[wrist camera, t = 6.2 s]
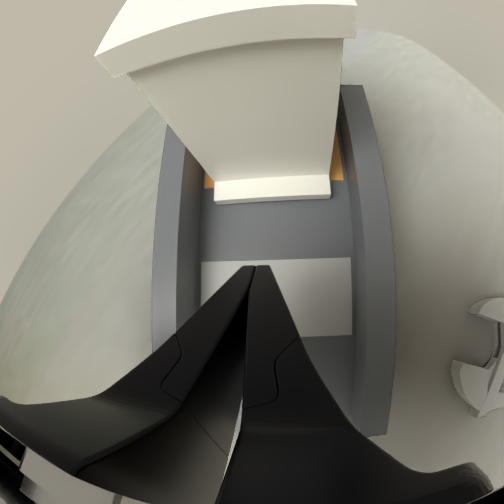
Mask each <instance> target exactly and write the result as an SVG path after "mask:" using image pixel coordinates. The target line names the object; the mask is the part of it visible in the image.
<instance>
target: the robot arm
mask: <svg viewBox="0 0 504 504" xmlns="http://www.w3.org/2000/svg"><path fill="white" fill-rule="evenodd" d="M242 397H243V398H242ZM241 401H242V417H241V425H240V431H239V435H238V438H237V441H236V444H235V447H234V450H233V453H232V456H231V459H230V462H229V465H228V467H227V470H226V473H225V476H224V472H225V468H226V464H227V460H228V456H229V452H230V448H231V444H232V439H233V435H234V431H235V427H236V423H237V418H238V414H239V410H240V406H241ZM0 426H1V427H3V428H4V429H5V430H6V431H7V432H6V431H5V430H3V429H2V428H1V427H0V504H504V486H503V487H501V488H499V489H497V490H495V491H493V492H492V490H493V486H492V484H491V481H490V480H489V478H488V477H487V476H486V475H485V474H484V473H483V471H482V470H480V469H479V468H478V467H477V466H476V465H475V464H474V463H471V462H470V463H465V464H461V465H458V466H455V467H451V468H448V469H445V470H442V471H438V472H433V473H422V472H417V471H414V470H411V469H409V468H407V467H406V466H404V465H403V464H401V463H400V462H399V461H397V460H396V459H394V458H393V457H392V456H390V455H389V454H388V453H386V452H385V451H384V450H382V449H381V448H380V447H379V446H377V445H376V444H375V443H373V442H372V441H371V440H369V439H368V438H367V437H366V436H364V435H363V434H362V433H361V432H359V431H358V430H357V429H356V428H355V427H354V426H353V424H352V423H351V422H350V421H349V419H348V418H347V417H346V415H345V414H344V413H343V411H342V410H341V408H340V406H339V405H338V403H337V402H336V400H335V399H334V397H333V395H332V394H331V392H330V391H329V389H328V388H327V386H326V385H325V383H324V381H323V380H322V378H321V377H320V375H319V373H318V371H317V370H316V368H315V366H314V364H313V363H312V361H311V359H310V357H309V355H308V352H307V350H306V348H305V346H304V344H303V341H302V339H301V338H300V334H299V332H298V330H297V327H296V325H295V323H294V320H293V318H292V316H291V313H290V311H289V309H288V306H287V304H286V302H285V299H284V297H283V295H282V292H281V290H280V288H279V285H278V283H277V281H276V278H275V276H274V274H273V271H272V269H271V267H270V265H257V266H255V265H243V266H242V267H240V268H239V269H238V270H237V271H236V272H235V273H234V274H233V275H232V276H231V277H230V278H229V279H228V280H227V281H226V282H225V283H224V284H223V285H222V286H221V287H220V288H219V289H218V290H217V291H216V292H215V293H214V294H213V295H212V296H211V297H210V298H209V299H208V300H207V301H206V302H205V303H204V304H203V305H202V306H201V307H200V308H199V309H198V310H197V311H196V312H195V313H194V314H193V315H192V316H191V317H190V318H189V319H188V320H187V321H186V322H185V323H184V324H183V325H182V326H181V327H180V328H179V329H178V330H177V331H176V332H175V333H174V334H172V335H171V336H170V337H169V338H168V339H167V340H166V341H165V342H164V343H163V344H162V345H161V346H160V347H159V348H158V349H157V350H155V351H154V352H153V353H152V354H151V355H150V356H148V357H147V358H146V359H145V360H144V361H143V362H141V363H140V364H139V365H138V366H136V367H135V368H134V369H133V370H131V371H130V372H129V373H127V374H126V375H125V376H124V377H122V378H121V379H120V380H119V381H117V382H116V383H115V384H113V385H112V386H111V387H110V388H108V389H107V390H105V391H103V392H102V393H100V394H98V395H95V396H92V397H89V398H83V399H76V400H69V401H61V402H52V403H43V404H30V405H24V404H17V403H14V402H11V401H10V400H9V399H7V398H6V397H4V396H0ZM8 432H9V433H10V434H11V435H10V434H9V433H8ZM14 437H15V438H14ZM223 476H224V479H223ZM222 480H223V482H222ZM221 484H222V485H221ZM490 492H491V493H490ZM488 493H489V494H488Z"/></svg>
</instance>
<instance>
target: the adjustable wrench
mask: <svg viewBox="0 0 504 504" xmlns="http://www.w3.org/2000/svg"><path fill="white" fill-rule="evenodd" d="M468 313H469V314H472V315H475V316H478V317H480V318H483V319H486V320H489V321H492V322H493V330H494V348H493V351H492V354H491V357H490V359H489V362H488V364H487V365H486V366H485V367H484V368H482V367H480V366H476V365H472V364H468V363H464V362H461V361H457V360H453V361H452V364H451V366H450V370H451V377H452V381H453V384H454V387H455V389H456V391H457V393H458V394H459V396H460V397H461V398H462V399H463V400H464V401H465V402H467V403H468V404H469V405H471V407H470V409H469V411H468V412H469V413H470V414H471V415H473V416H474V417H476V418H480V417H482V416H483V417H485V416H486V413H488V412H489V411H491V410H494V409H497V408H502V407H504V297H499V298H487V299H481V300H480V301H478V302H476V303H475V304H473V305H472V306H471V307H470V309H469V312H468Z"/></svg>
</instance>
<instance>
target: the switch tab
mask: <svg viewBox="0 0 504 504" xmlns="http://www.w3.org/2000/svg"><path fill="white" fill-rule="evenodd" d="M357 11H358V5H357V3H356V2H355V0H127V2H126V3H125V5H124V6H123V7H122V9H121V10H120V12H119V14H118V15H117V17H116V18H115V20H114V22H113V23H112V25H111V27H110V28H109V30H108V32H107V33H106V35H105V37H104V39H103V40H102V43H101V44H100V46H99V48H98V50H97V52H96V53H95V55H94V57H95V58H96V59H97V60H98V62H99V63H100V64H101V65H102V66H103V67H104V68H105V69H106V70H107V72H108V73H109V74H110V75H111V76H112V77H113V78H116V77H119V76H121V75H124V74H127V75H128V76H129V77H130V78H131V80H132V81H133V82H134V83H135V84H136V86H137V87H138V88H139V89H140V90H141V92H142V93H143V94H144V95H145V97H146V98H147V99H148V100H149V102H151V104H152V105H153V106H154V108H155V109H156V110H157V111H158V113H159V114H160V115H161V116H162V117H163V119H164V120H165V121H166V122H167V124H168V125H169V126H170V127H171V129H172V130H173V131H174V132H175V133H176V135H177V136H178V137H179V138H180V140H181V141H182V142H183V143H184V145H185V146H186V147H187V148H188V150H189V151H190V152H191V153H192V155H193V156H194V157H195V158H196V160H197V161H198V162H199V163H200V165H201V166H202V167H203V168H204V170H205V171H206V172H207V173H208V175H209V176H210V177H211V178H212V180H213V181H214V182H215V183H214V202H215V203H216V204H217V205H221V204H234V203H249V202H265V201H283V200H305V199H330V196H331V190H330V180H329V171H330V164H331V157H332V150H333V143H334V135H335V127H336V119H337V110H338V100H339V91H340V80H341V68H342V55H343V39H344V38H353V39H355V36H356V23H357Z"/></svg>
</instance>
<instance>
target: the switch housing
mask: <svg viewBox="0 0 504 504" xmlns="http://www.w3.org/2000/svg"><path fill="white" fill-rule="evenodd" d="M341 71H342V68H341ZM340 82H341V80H340ZM329 180H330V190H331V196H330V199H305V200H283V201H265V202H249V203H234V204H221V205H217V204H216V203H215V202H214V183H215V182H214V181H213V180H212V178H211V177H210V176H209V175H208V173H207V172H206V171H205V170H204V168H203V167H202V166H201V165H200V163H199V162H198V161H197V160H196V158H195V157H194V156H193V155H192V153H191V152H190V151H189V150H188V148H187V147H186V146H185V145H184V143H183V142H182V141H181V140H180V138H179V137H178V136H177V135H176V133H175V132H174V131H173V130H172V129H171V127H170V126H169V125H168V124H167V129H166V135H165V141H164V148H163V155H162V162H161V170H160V178H159V186H158V196H157V206H156V217H155V230H154V245H153V265H152V353H153V352H154V351H155V350H157V349H158V348H159V347H160V346H161V345H162V344H163V343H164V342H165V341H166V340H167V339H168V338H169V337H170V336H171V335H172V334H174V333H175V332H176V331H177V330H178V329H179V328H180V327H181V326H182V325H183V324H184V323H185V322H186V321H187V320H188V319H189V318H190V317H191V316H192V315H193V314H194V313H195V312H196V311H197V310H198V309H199V308H200V307H201V306H202V305H203V304H204V303H205V302H206V301H207V300H208V299H209V298H210V297H211V296H212V295H213V294H214V293H215V292H216V291H217V290H218V289H219V288H220V287H221V286H222V285H223V284H224V283H225V282H226V281H227V280H228V279H229V278H230V277H231V276H232V275H233V274H234V273H235V272H236V271H237V270H238V269H239V268H240V267H242V266H243V265H255V266H257V265H270V267H271V269H272V271H273V274H274V276H275V278H276V281H277V283H278V285H279V288H280V290H281V292H282V295H283V297H284V299H285V302H286V304H287V306H288V309H289V311H290V313H291V316H292V318H293V320H294V323H295V325H296V327H297V330H298V332H299V334H300V338H301V339H302V341H303V344H304V346H305V348H306V350H307V352H308V355H309V357H310V359H311V361H312V363H313V364H314V366H315V368H316V370H317V371H318V373H319V375H320V377H321V378H322V380H323V381H324V383H325V385H326V386H327V388H328V389H329V391H330V392H331V394H332V395H333V397H334V399H335V400H336V402H337V403H338V405H339V406H340V408H341V410H342V411H343V413H344V414H345V415H346V417H347V418H348V419H349V421H350V422H351V423H352V424H353V426H354V427H355V428H356V429H357V430H358V431H359V432H361V433H362V434H363V435H364V436H366V437H369V436H378V435H385V434H386V432H387V426H388V419H389V412H390V404H391V396H392V386H393V375H394V361H395V339H396V288H395V267H394V252H393V240H392V230H391V221H390V213H389V205H388V198H387V192H386V185H385V179H384V173H383V168H382V163H381V158H380V153H379V148H378V143H377V139H376V134H375V130H374V126H373V122H372V118H371V114H370V110H369V107H368V103H367V99H366V96H365V92H364V89H363V86H362V85H340V91H339V100H338V110H337V119H336V127H335V135H334V143H333V150H332V157H331V164H330V171H329ZM242 398H243V397H242ZM241 417H242V401H241V406H240V410H239V414H238V418H237V423H236V427H235V431H240V425H241Z"/></svg>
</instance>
